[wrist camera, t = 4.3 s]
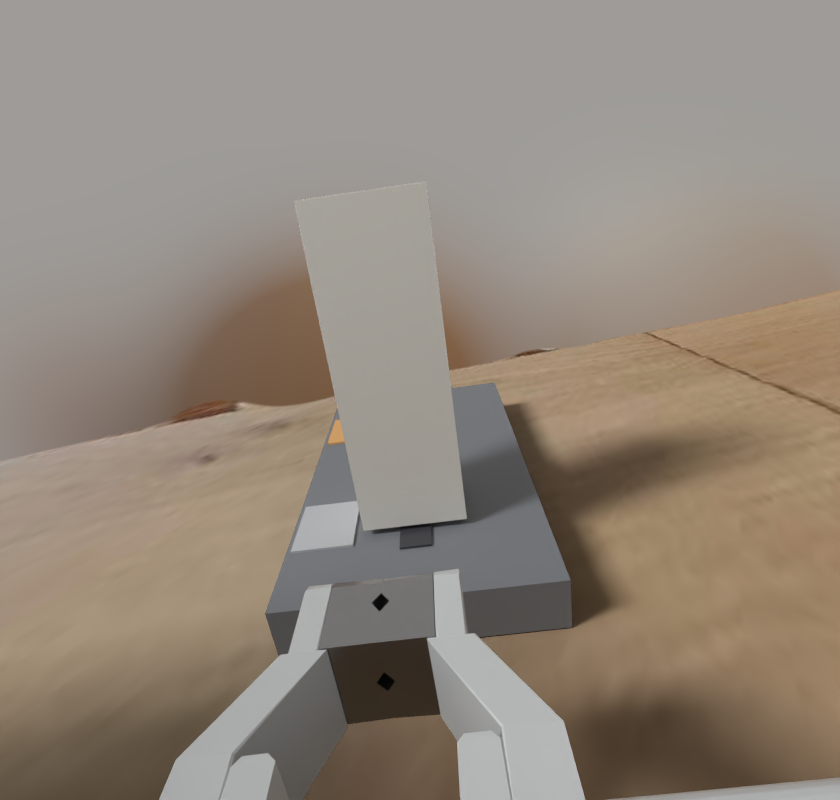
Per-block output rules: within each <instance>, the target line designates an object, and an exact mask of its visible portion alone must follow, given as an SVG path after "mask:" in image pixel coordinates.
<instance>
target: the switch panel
mask: <svg viewBox="0 0 840 800" xmlns="http://www.w3.org/2000/svg"><path fill="white" fill-rule="evenodd" d="M451 391H452V400H453V408H454V416H455V425H456V433H457V441H458V449H459V458H460V466H461V474H462V482H463V491H464V499H465V507H466V516H467V519H462V520H453V521H444V522H436V523H427V524H419V525H410V526H401V527H393V528H384V529H376V530H367V531H363V526H362V521H361V517H360V512H359V507H358V503H357V498H356V493H355V488H354V484H353V479H352V474H351V470H350V465H349V460H348V455H347V451H346V446H345V441H344V437H343V432H342V427H341V422H340V418H339V413H338V408H337V410H336V413H335V416H334V419H333V422H332V425H331V428H330V430H329V433H328V436H327V439H326V442H325V445H324V447H323V450H322V453H321V456H320V459H319V462H318V465H317V467H316V470H315V473H314V476H313V479H312V482H311V485H310V487H309V490H308V493H307V496H306V499H305V502H304V505H303V507H302V510H301V513H300V516H299V519H298V522H297V524H296V527H295V530H294V533H293V536H292V539H291V542H290V544H289V547H288V550H287V553H286V556H285V559H284V562H283V564H282V567H281V570H280V573H279V576H278V579H277V581H276V584H275V587H274V590H273V593H272V596H271V599H270V601H269V604H268V607H267V610H266V613H265V615H266V618H267V621H268V624H269V627H270V630H271V634H272V637H273V640H274V643H275V646H276V649H277V652H278V655H279V656H280V655H282V654H288V652H289V649H290V645H291V641H292V638H293V634H294V630H295V627H296V623H297V619H298V616H299V612H300V608H301V605H302V601H303V597H304V593H305V591H306V590H307V589H308V587H309V586H316V585H327V584H334V583H344V582H354V581H365V580H376V579H387V578H395V577H403V576H411V575H419V574H427V573H434V572H438V571H445V570H452V569H459V570H460V574H461V582H462V589H463V596H464V604H465V611H466V618H467V625H468V633H469V634H470V633H476V634H477V635H478V636H479V637H486V636H495V635H505V634H514V633H523V632H533V631H542V630H552V629H561V628H571V627H572V604H571V580H570V577H569V574H568V572H567V569H566V567H565V564H564V562H563V559H562V556H561V554H560V551H559V549H558V546H557V543H556V541H555V538H554V536H553V533H552V530H551V528H550V525H549V523H548V520H547V518H546V515H545V512H544V510H543V507H542V505H541V502H540V499H539V497H538V494H537V492H536V489H535V486H534V484H533V481H532V479H531V476H530V473H529V471H528V468H527V466H526V463H525V461H524V458H523V455H522V453H521V450H520V448H519V445H518V442H517V440H516V437H515V435H514V432H513V429H512V427H511V424H510V422H509V419H508V417H507V414H506V411H505V409H504V406H503V404H502V401H501V398H500V396H499V393H498V391H497V388H496V385H495V383H488V384H481V385H473V386H465V387H457V388H451Z"/></svg>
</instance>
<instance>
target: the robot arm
mask: <svg viewBox="0 0 840 800" xmlns="http://www.w3.org/2000/svg"><path fill="white" fill-rule="evenodd" d="M427 715H441V718H442V719H443V721H444V722H445V724H446V725H447V727H448V728H449V730H450V731H451V733H452V734H453V736H454V737H455V739H456V740H457V752H458V770H459V787H460V800H585V797H584V793H583V789H582V786H581V782H580V778H579V775H578V771H577V767H576V764H575V760H574V757H573V753H572V749H571V746H570V742H569V738H568V735H567V731H566V727H565V724H564V721H563V720H562V719H561V718H560V717H559V716H558V715H557V714H556V713H555V712H554V711H553V710H552V709H551V708H550V707H549V706H548V705H547V704H546V703H545V702H544V701H543V700H542V699H541V698H540V697H539V696H538V695H537V694H536V693H535V692H534V691H533V690H532V689H531V688H530V687H529V686H528V685H527V684H526V683H525V682H524V681H523V680H522V679H521V678H520V677H519V676H518V675H517V674H516V673H515V672H514V671H513V670H512V669H511V668H510V667H509V666H508V665H507V664H506V663H505V662H504V661H503V660H502V659H501V658H500V657H499V656H498V655H497V654H496V653H495V652H494V651H493V650H492V649H491V648H490V647H489V646H488V645H487V644H486V643H485V642H484V641H483V640H482V639H481V638H480V637H479V636H478V635H477V634H476V633H470V634H469V633H468V625H467V618H466V611H465V604H464V596H463V589H462V582H461V574H460V570H459V569H452V570H445V571H438V572H434V573H427V574H419V575H411V576H403V577H395V578H387V579H376V580H365V581H354V582H344V583H334V584H327V585H316V586H309V587H308V589H307V590H306V591H305V593H304V597H303V601H302V605H301V608H300V612H299V616H298V619H297V623H296V627H295V630H294V634H293V638H292V641H291V645H290V649H289V652H288V654H282V655H280V656H279V657H278V658H277V659H276V660H275V661H274V662H273V663H272V664H271V665H270V666H269V667H268V668H267V669H266V670H265V671H264V672H263V673H262V674H261V675H260V676H259V677H258V678H257V679H256V680H255V681H254V682H253V683H252V684H251V685H250V686H249V687H248V688H247V689H246V690H245V691H244V692H243V693H242V694H241V695H240V696H239V697H238V698H237V699H236V700H235V701H234V702H233V703H232V704H231V705H230V706H229V707H228V708H227V709H226V710H225V711H224V712H223V713H222V714H221V715H220V716H219V717H218V718H217V719H216V720H215V721H214V722H213V723H212V724H211V725H210V726H209V727H208V728H207V729H206V730H205V731H204V732H203V733H202V734H201V735H200V736H199V737H198V738H197V739H196V740H195V741H194V742H193V743H192V744H191V745H190V746H189V747H188V748H187V749H186V750H185V751H184V752H183V753H182V754H181V755H180V756H179V757H178V758H177V759H176V760H175V763H174V765H173V767H172V770H171V772H170V775H169V777H168V779H167V782H166V784H165V787H164V789H163V791H162V794H161V796H160V799H159V800H303V798H304V797H305V795H306V794H307V792H308V790H309V789H310V787H311V786H312V784H313V782H314V781H315V779H316V778H317V776H318V774H319V773H320V771H321V770H322V768H323V767H324V765H325V763H326V762H327V760H328V759H329V757H330V755H331V754H332V752H333V751H334V749H335V747H336V746H337V744H338V743H339V741H340V739H341V738H342V736H343V735H344V733H345V731H346V730H347V728H348V725H347V724H353V723H360V722H368V721H375V720H383V719H390V718H401V717H414V716H427ZM607 800H840V777H838V778H828V779H817V780H807V781H796V782H786V783H775V784H765V785H754V786H744V787H733V788H723V789H712V790H702V791H691V792H681V793H670V794H660V795H649V796H639V797H628V798H618V799H607Z"/></svg>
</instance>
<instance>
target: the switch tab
mask: <svg viewBox="0 0 840 800" xmlns="http://www.w3.org/2000/svg"><path fill="white" fill-rule="evenodd" d="M294 205H295V210H296V214H297V219H298V224H299V229H300V233H301V238H302V243H303V248H304V252H305V257H306V261H307V266H308V271H309V276H310V281H311V286H312V290H313V295H314V300H315V304H316V309H317V314H318V319H319V323H320V328H321V333H322V337H323V342H324V347H325V351H326V356H327V361H328V366H329V370H330V375H331V380H332V385H333V389H334V394H335V399H336V403H337V408H338V413H339V418H340V422H341V427H342V432H343V437H344V441H345V446H346V451H347V455H348V460H349V465H350V470H351V474H352V479H353V484H354V488H355V493H356V498H357V503H358V507H359V512H360V517H361V521H362V526H363V531H367V530H376V529H384V528H393V527H401V526H410V525H419V524H427V523H436V522H444V521H453V520H462V519H467V516H466V507H465V499H464V491H463V482H462V474H461V466H460V458H459V449H458V441H457V433H456V425H455V416H454V408H453V400H452V391H451V383H450V375H449V367H448V358H447V350H446V342H445V333H444V325H443V318H442V309H441V300H440V293H439V284H438V276H437V267H436V259H435V251H434V243H433V234H432V226H431V218H430V209H429V202H428V193H427V185H426V182H419V183H412V184H406V185H399V186H392V187H385V188H378V189H371V190H365V191H358V192H351V193H345V194H338V195H331V196H323V197H317V198H310V199H304V200H297V201H294Z"/></svg>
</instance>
